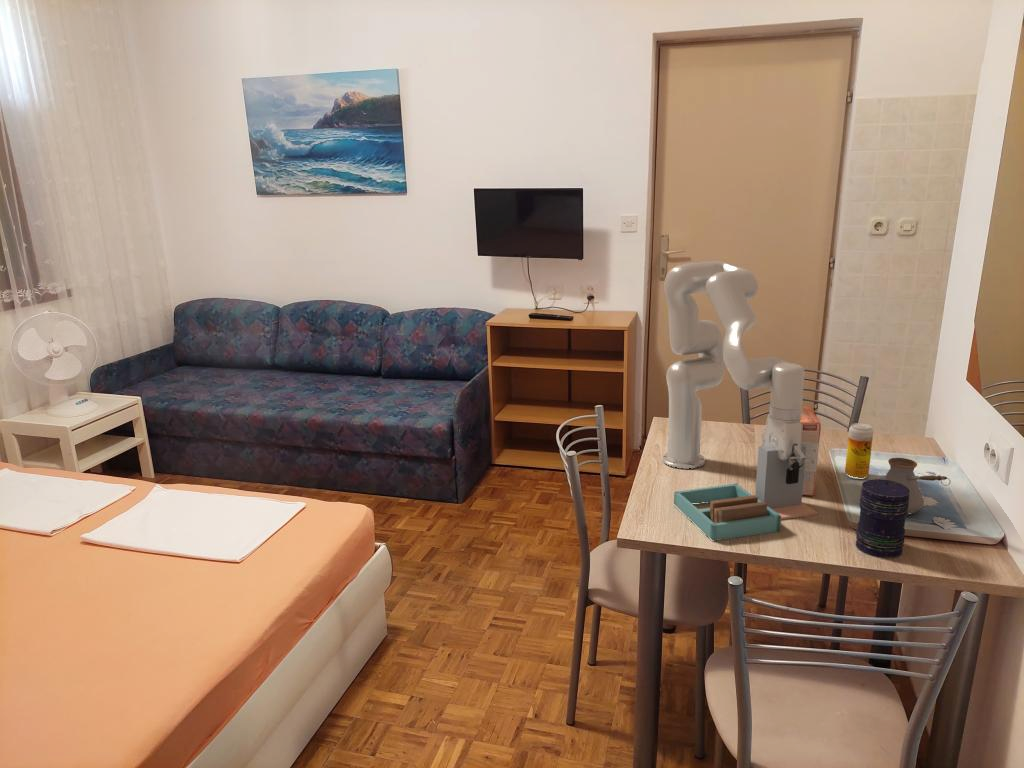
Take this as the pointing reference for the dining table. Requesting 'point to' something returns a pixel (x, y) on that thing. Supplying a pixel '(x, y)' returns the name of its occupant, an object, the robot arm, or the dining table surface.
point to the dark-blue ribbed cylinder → (882, 518)
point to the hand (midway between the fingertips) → (780, 476)
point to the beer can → (859, 450)
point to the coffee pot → (909, 480)
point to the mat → (795, 511)
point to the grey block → (777, 479)
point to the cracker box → (810, 448)
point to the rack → (725, 528)
